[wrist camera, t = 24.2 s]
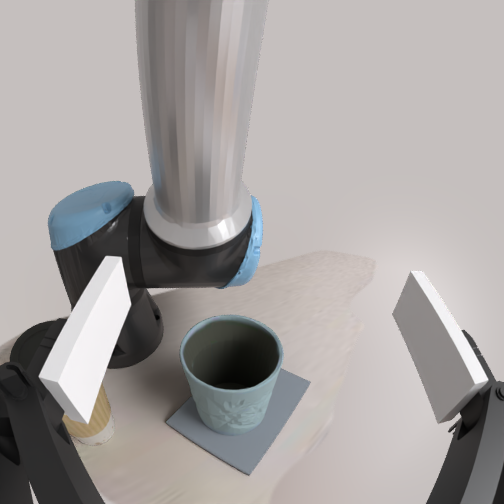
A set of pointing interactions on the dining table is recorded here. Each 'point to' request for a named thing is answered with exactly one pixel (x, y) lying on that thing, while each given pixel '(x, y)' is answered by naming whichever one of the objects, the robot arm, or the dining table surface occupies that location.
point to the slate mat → (253, 442)
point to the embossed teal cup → (231, 371)
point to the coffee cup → (89, 434)
